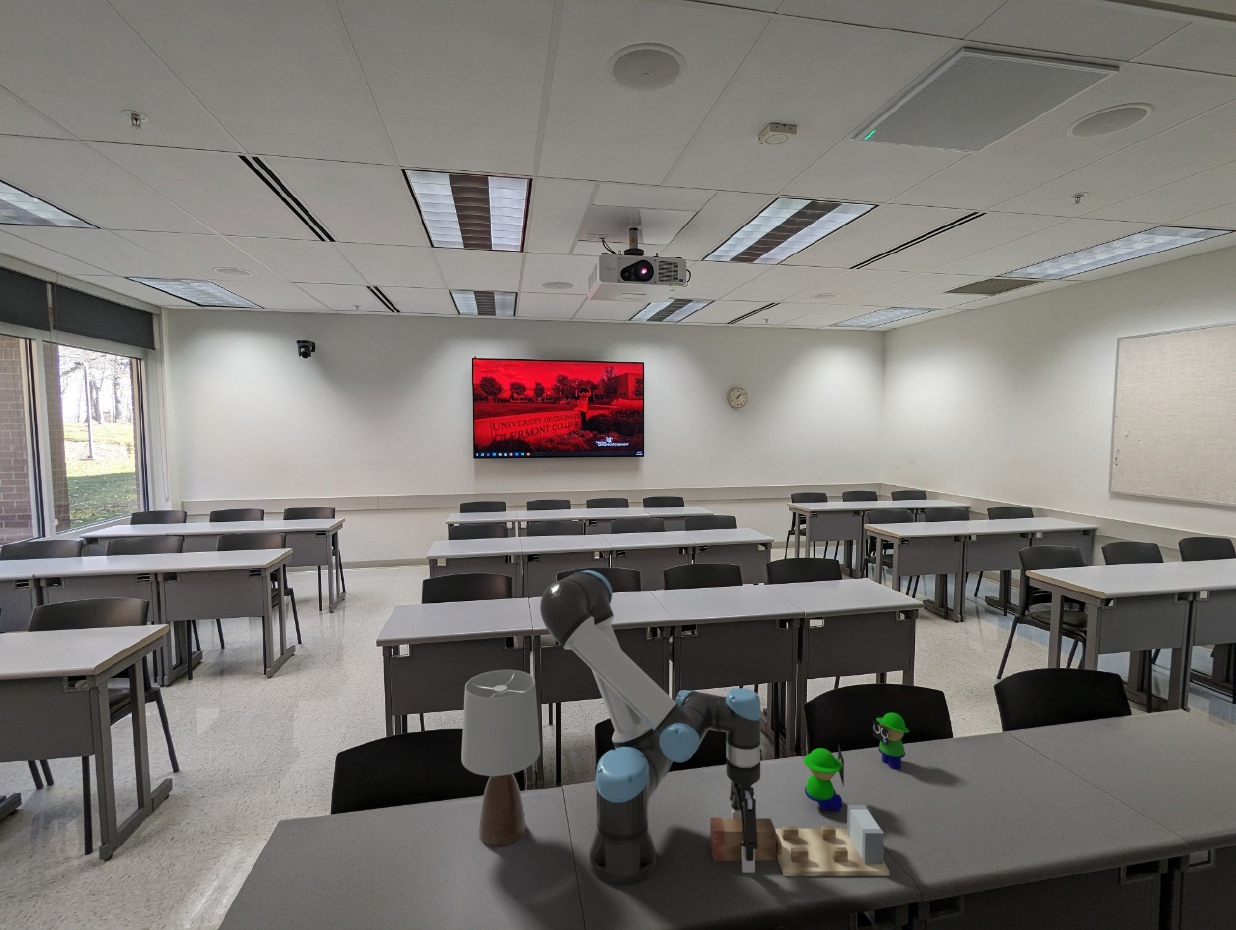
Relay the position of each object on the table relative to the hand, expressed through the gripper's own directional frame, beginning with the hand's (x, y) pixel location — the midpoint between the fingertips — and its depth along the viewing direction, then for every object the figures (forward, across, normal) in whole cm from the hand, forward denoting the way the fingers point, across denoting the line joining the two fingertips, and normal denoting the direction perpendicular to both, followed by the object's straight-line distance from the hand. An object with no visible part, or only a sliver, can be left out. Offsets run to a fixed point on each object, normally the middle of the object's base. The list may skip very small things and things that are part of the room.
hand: (742, 853), depth 136 cm
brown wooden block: (0, 0, 0) cm, 0 cm away
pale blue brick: (-1, 0, -28) cm, 28 cm away
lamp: (0, +8, +57) cm, 57 cm away
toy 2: (0, +37, -51) cm, 63 cm away
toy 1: (0, +18, -24) cm, 30 cm away
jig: (0, 0, -19) cm, 19 cm away
